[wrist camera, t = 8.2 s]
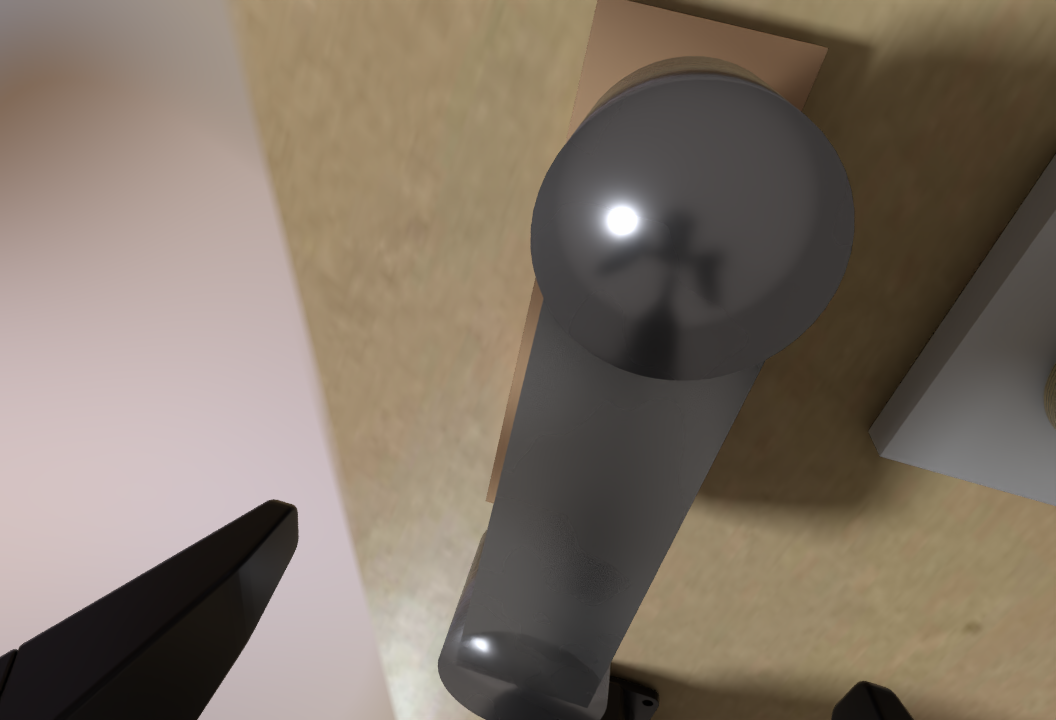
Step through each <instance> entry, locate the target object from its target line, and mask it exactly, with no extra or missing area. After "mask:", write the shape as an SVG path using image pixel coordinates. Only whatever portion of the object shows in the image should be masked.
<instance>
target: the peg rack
mask: <svg viewBox="0 0 1056 720" xmlns="http://www.w3.org/2000/svg"><path fill="white" fill-rule="evenodd" d="M828 49H829V48H826V47H823V46H819V45H815V44H811V43H807V42H803V41H799V40H794V39H790V38H786V37H782V36H777V35H773V34H769V33H765V32H760V31H756V30H752V29H748V28H743V27H739V26H735V25H731V24H727V23H722V22H718V21H714V20H710V19H705V18H701V17H697V16H693V15H688V14H684V13H680V12H676V11H672V10H667V9H663V8H659V7H655V6H650V5H646V4H642V3H638V2H633V1H629V0H597V5H596V9H595V14H594V18H593V23H592V27H591V32H590V36H589V41H588V45H587V50H586V54H585V59H584V63H583V68H582V72H581V77H580V81H579V86H578V90H577V95H576V99H575V103H574V108H573V112H572V117H571V121H570V126H569V130H568V135H567V139H566V143H567V141H568V140H569V139H570V137H571V136H572V135H573V133H574V132H575V131H576V129H577V128H578V126H579V125H580V124H581V122H582V121H583V120H584V118H585V117H586V116H587V114H588V113H589V112H590V110H591V109H592V108H593V107H594V105H595V104H596V103H597V101H598V100H599V99H600V98H601V97H602V96H603V95H604V94H605V93H606V92H607V91H608V90H609V89H610V88H611V87H612V86H614V85H615V84H616V83H617V82H619V81H620V80H621V79H623V78H624V77H626V76H627V75H629V74H631V73H633V72H634V71H636V70H638V69H640V68H642V67H644V66H647V65H649V64H652V63H654V62H658V61H661V60H665V59H669V58H675V57H683V56H705V57H711V58H717V59H722V60H725V61H728V62H731V63H734V64H737V65H739V66H741V67H743V68H745V69H747V70H749V71H751V72H752V73H753V74H755V75H756V76H757V77H759V78H760V79H762V80H763V81H764V82H766V83H767V84H768V85H769V86H770V87H772V88H773V89H774V90H775V91H777V92H778V93H779V94H780V95H781V96H783V97H784V98H785V99H786V100H788V101H789V102H790V103H791V104H792V105H794V106H795V107H796V108H797V109H799V110H800V111H801V112H802V110H803V107H804V105H805V103H806V100H807V98H808V96H809V93H810V91H811V89H812V86H813V84H814V82H815V79H816V77H817V75H818V72H819V70H820V68H821V65H822V63H823V61H824V58H825V56H826V53H827V51H828ZM542 302H543V296H542V293H541V291H540V288H539V286H538V283H537V280H536V278H535V283H534V287H533V292H532V296H531V301H530V305H529V309H528V314H527V318H526V323H525V327H524V332H523V336H522V341H521V345H520V350H519V354H518V359H517V363H516V368H515V372H514V377H513V381H512V386H511V390H510V395H509V399H508V404H507V408H506V412H505V417H504V421H503V426H502V430H501V435H500V439H499V444H498V448H497V453H496V457H495V462H494V466H493V471H492V475H491V480H490V484H489V489H488V493H487V498H486V501H487V502H491V503H494V501H495V497H496V492H497V488H498V484H499V480H500V476H501V472H502V468H503V464H504V459H505V455H506V451H507V447H508V443H509V439H510V435H511V430H512V426H513V422H514V418H515V414H516V410H517V406H518V401H519V397H520V393H521V389H522V385H523V381H524V377H525V373H526V368H527V364H528V360H529V356H530V352H531V348H532V344H533V339H534V335H535V331H536V327H537V323H538V319H539V315H540V310H541V306H542Z"/></svg>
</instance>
